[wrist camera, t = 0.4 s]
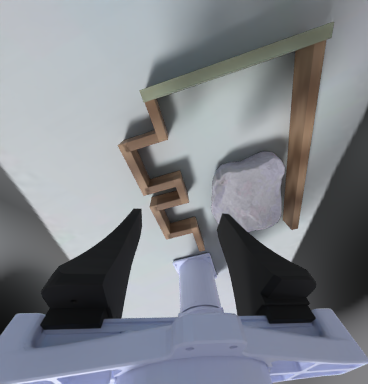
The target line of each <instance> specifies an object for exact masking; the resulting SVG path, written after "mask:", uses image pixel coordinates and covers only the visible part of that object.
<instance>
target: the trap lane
mask: <svg viewBox="0 0 368 384" xmlns="http://www.w3.org/2000/svg"><path fill="white" fill-rule="evenodd" d="M333 25H334V22H331V23H328V24H326V25H323V26H320V27H317V28H314V29H312V30H309V31H306V32H303V33H300V34H297V35H295V36H292V37H289V38H286V39H283V40H280V41H278V42H275V43H272V44H269V45H266V46H264V47H261V48H258V49H255V50H252V51H249V52H247V53H244V54H241V55H238V56H235V57H233V58H230V59H227V60H224V61H221V62H218V63H216V64H213V65H210V66H207V67H204V68H201V69H199V70H196V71H193V72H190V73H187V74H185V75H182V76H179V77H176V78H173V79H170V80H168V81H165V82H162V83H159V84H156V85H153V86H151V87H148V88H145V89H142V90H139V91H140V94H141V96H142V99H143V102H145V105H146V107H147V110H148V113H149V116H150V118H151V121H152V124H153V126H154V129H155V130H154V131H151V132H148V133H144V134H141V135H138V136H135V137H132V138H129V139H126V140H124V141H122V142H121V143H120V144H119V145H118V147H119V149H120V151H121V153H122V155H123V157H124V158H125V160H126V162H127V164H128V166H129V168H130V170H131V172H132V174H133V176H134V178H135V180H136V182H137V184H138V186H139V188H140V189H141V191H142V193H143V195H144V196H145V195H149V194H152V193H156V192H159V191H163V190H166V189H170V188H173V187H176V189H177V190H176V191H173V192H169V193H165V194H162V195H158V196H155V197H152V198H151V203H150V209H151V211H152V213H153V215H154V217H155V218H156V220H157V222H158V224H159V226H160V228H161V230H162V232H163V234H164V236H165V238H166V239H170V238H174V237H178V236H182V235H186V234H190V233H193V235H194V238H195V240H196V243H197V246H198V249H199V251H200V252H201V251H205V247H204V243H203V238H202V235H201V232H200V229H199V226H198V223H197V220H196V217H192V218H188V219H184V220H180V221H177V222H173V223H170V221H169V219H168V217H167V215H166V212H165V210H164V209H167V208H170V207H174V206H178V205H182V204H185V203H189V199H188V193H187V190H186V187H185V184H184V181H183V178H182V175H181V172H180V170H179V171H176V172H173V173H169V174H166V175H162V176H159V177H155V178H152V179H150V177H149V175H148V173H147V171H146V169H145V167H144V164H143V162H142V160H141V158H140V156H139V153H138V151H137V149H140V148H143V147H146V146H149V145H152V144H155V143H159V142H162V141H165V140H168V132H167V129H166V126H165V123H164V120H163V117H162V114H161V111H160V108H159V105H158V102H157V99H158V98H160V97H163V96H166V95H169V94H172V93H175V92H178V91H181V90H184V89H187V88H189V87H192V86H195V85H198V84H201V83H204V82H207V81H210V80H213V79H216V78H218V77H221V76H224V75H227V74H230V73H233V72H236V71H239V70H242V69H245V68H247V67H250V66H253V65H256V64H259V63H262V62H265V61H268V60H271V59H274V58H277V57H279V56H282V55H285V54H288V53H291V52H294V51H295V63H294V77H293V90H292V103H291V117H290V130H289V143H288V157H287V170H286V183H285V197H284V210H283V221H284V222H285V223H286V224H287V225H288V226H289V227H290V229H291V230H293V229H298V224H299V217H300V211H301V204H302V198H303V191H304V184H305V178H306V171H307V165H308V158H309V151H310V145H311V138H312V132H313V125H314V118H315V112H316V105H317V99H318V92H319V85H320V79H321V72H322V66H323V59H324V52H325V46H326V40H327V39H330V38H331V37H332V31H333Z"/></svg>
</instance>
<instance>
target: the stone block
mask: <svg viewBox="0 0 368 384" xmlns="http://www.w3.org/2000/svg"><path fill="white" fill-rule="evenodd" d="M284 173H285V166H284V164H283V162H282V160H281V159H279V158H278V157H277V156H276V154H275V153H273V152H266V151H263V152H260V153H257V154H255V155H252V156H250V157H248V158H246V159H244V160H242V161H239V162H229V163H226V164H222V165H220V167H219V168H218V169H217V170H216V172H215V174H214V178H213V181H212V204H211V211H212V213H213V215H214V217H215V219H216V221H217V222H218V225H219V222H220V219H221V216H222V213H224V214H229V215H231V216H232V217H233V218H234V219H235V220H236V221H237V222H238V223H239V224H240V225H241V226H242V227H243V228H244V229H245V230H246V231H247V232H251V231H253V230H261V229H266V228H268V227H271V226H273V225H274V224H275V223H277V222H278V221H279V219H280V217H281V212H282V200H281V191H280V187H281V179H282V177H283V175H284Z"/></svg>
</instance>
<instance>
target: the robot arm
mask: <svg viewBox="0 0 368 384" xmlns="http://www.w3.org/2000/svg"><path fill="white" fill-rule="evenodd" d="M141 229H142V212H141V209H133V210H132V211H131V213H130V214H129V215H128V216H127V217H126V218H125V220H124V221H123V222H122V223H121V224H120V225H119V226H118V227H117V228H116V229H115V230H114V231H113V232H111V233H110V234H109V235H108V236H107V237H106V238H104V239H103V240H102V241H100V242H99V243H98V244H96V245H95V246H94V247H92V248H91V249H89V250H88V251H86V252H84V253H83V254H81V255H79V256H78V257H76V258H74V259H72V260H70V261H68V262H66V263H64V264H62V265H60V266H59V267H58V268H57V269H56V270H55V272H54V273H53V274H52V276H51V277H50V279H49V280H48V282H47V283H46V285H45V286H44V287H43V289H42V291H41V294H42V297H43V299H44V300H45V302H46V303H47V305H48V306H49V307H50V309H49V311H48V312H47V314H46V315H45V314H41V313H19V314H16V315H15V316H14V318H13V319H12V321H11V322H10V323H9V325H8V326H7V327H6V329H5V330H4V331H3V333H2V334H1V336H0V384H273V382H280V381H288V380H295V379H302V378H310V377H318V376H328V375H340V374H344V373H346V372H349V371H351V370H353V369H356V368H359V367H361V366H363V365H366V364H368V357H367V356H366V355H365V353H364V352H363V351H362V349H361V348H360V347H359V346H358V344H357V343H356V341H355V340H354V339H353V338H352V336H351V335H350V333H349V332H348V331H347V330H346V328H345V327H344V325H343V324H342V323H341V322H340V320H339V319H338V317H337V316H336V315H335V314H334V312H333V311H332V310H331V309H330V308H329V309H328V308H325V309H313V310H310V308H309V307H308V305H309V304H310V303H309V301H308V300H307V298H306V297H307V296H308V295H309V294H310V293H311V292H312V291H313V290H314V289H315V288H316V281H315V280H314V279H313V278H312V276H311V275H310V274H309V272H308V271H307V270H306V269H304V268H302V267H300V266H298V265H296V264H294V263H292V262H290V261H288V260H286V259H285V258H283V257H281V256H280V255H278V254H276V253H275V252H273V251H272V250H270V249H269V248H267V247H266V246H264V245H263V244H262V243H260V242H259V241H258V240H256V239H255V238H254V237H253V236H252V235H250V234H249V233H248V232H247V231H246V230H245V229H244V228H243V227H242V226H241V225H240V224H239V223H238V222H237V221H236V220H235V219H234V218H233V217H232V216H231V215H229V214H224V213H222V216H221V219H220V222H219V225H218V229H217V232H218V237H219V241H220V244H221V247H222V250H223V253H224V256H225V259H226V262H227V265H228V269H229V273H230V277H231V282H232V287H233V292H234V297H235V302H236V309H237V315H238V316H237V315H235V314H232V313H224V311H223V308H221V304H220V300H219V296H218V291H217V287H216V282H215V279H217V274H216V271H215V268H214V265H213V262H212V259H211V255H210V253H205V254H201V255H197V256H193V257H188V258H184V259H180V260H176V261H173V265H174V267H175V269H176V271H177V272H178V274H179V286H180V313H179V314H178V317H172V318H124V319H121V318H122V312H123V306H124V300H125V295H126V290H127V285H128V280H129V275H130V270H131V265H132V262H133V258H134V255H135V252H136V249H137V245H138V242H139V239H140V235H141Z"/></svg>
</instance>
